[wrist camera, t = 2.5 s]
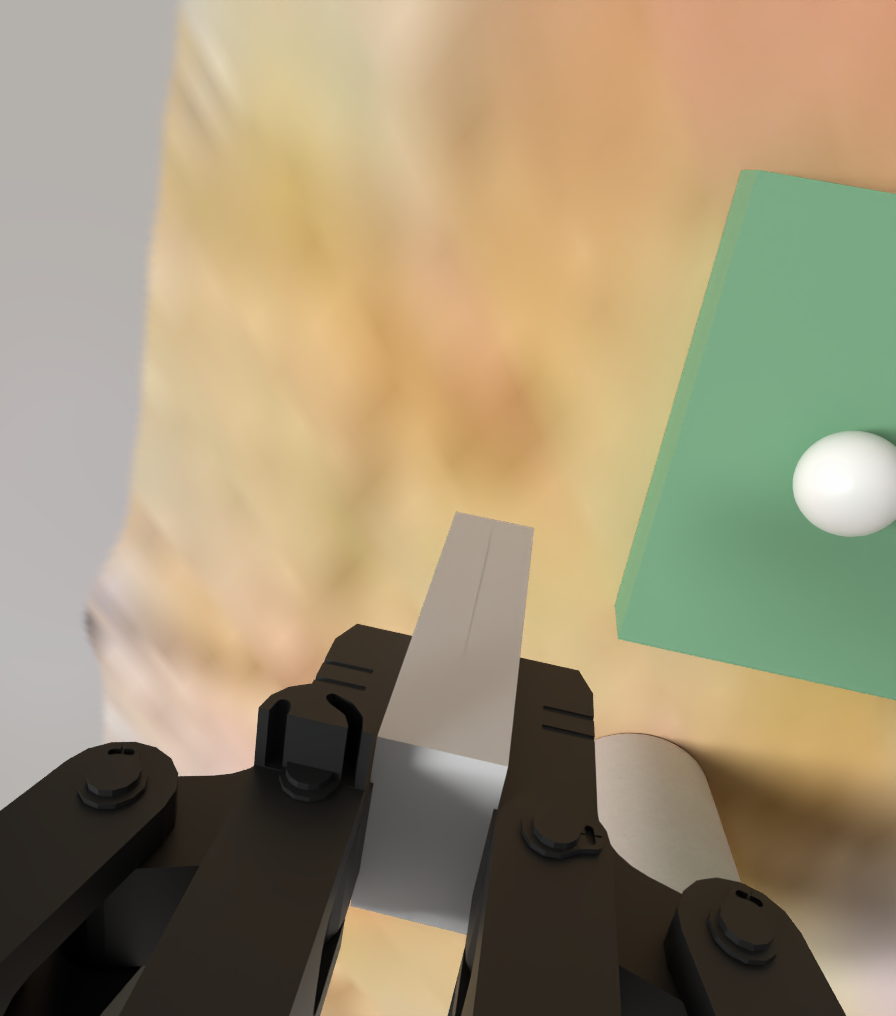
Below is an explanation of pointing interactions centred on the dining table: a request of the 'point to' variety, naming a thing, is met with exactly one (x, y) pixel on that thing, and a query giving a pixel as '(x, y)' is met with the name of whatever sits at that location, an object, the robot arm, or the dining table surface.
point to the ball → (847, 483)
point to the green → (776, 446)
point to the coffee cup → (660, 811)
